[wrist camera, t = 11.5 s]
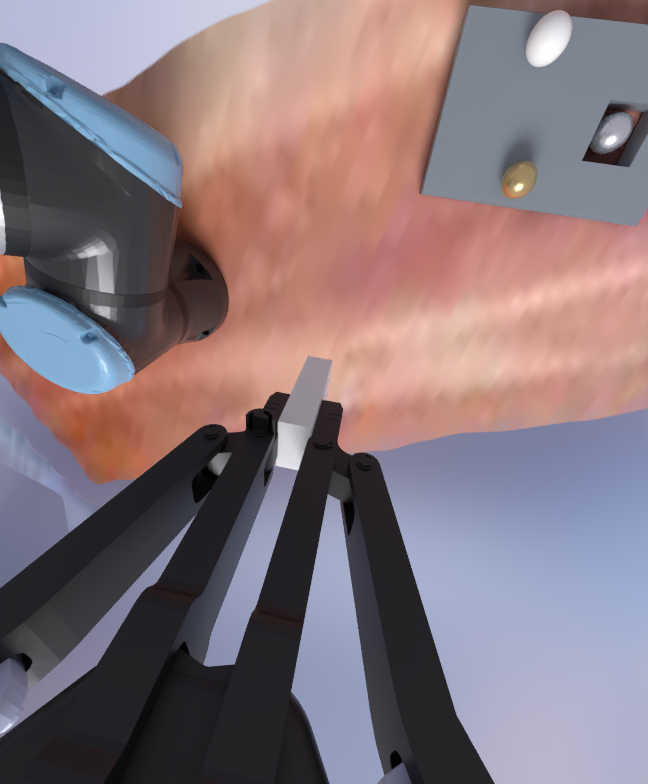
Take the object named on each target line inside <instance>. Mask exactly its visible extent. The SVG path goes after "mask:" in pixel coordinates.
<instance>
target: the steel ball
mask: <svg viewBox="0 0 648 784" xmlns="http://www.w3.org/2000/svg"><path fill="white" fill-rule="evenodd" d="M633 125H634V123H633V118H632V116H631V115H630V114H628V113H626V112H615V113H612V114H610V115H608V116H606V117H605V118H603V119H602V120H601V121H600V123H599V125H598V127H597V129H596V132H595V134H594V136H593V138H592V140H591V142H590V144H589V145H590V148H591V150H592V151H593V152H595V153H598V154H606V153H610V152H612V151H614V150H616V149H618V148H619V147H620V146H622V145H623V144H624V143H625V142H626V140H627V139H628V138H629V136H630V134H631V132H632V130H633Z"/></svg>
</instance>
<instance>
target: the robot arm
mask: <svg viewBox="0 0 648 784" xmlns="http://www.w3.org/2000/svg"><path fill="white" fill-rule="evenodd" d="M182 175H183V162H182V158H181V156H180V153H179V151H178V150H177V148H176V147H175V145H174V144H173V143H172V142H171V141H170V140H169V139H168V138H167V137H165V136H164V135H163V134H161V133H160V132H158V131H157V130H155V129H154V128H152V127H151V126H149V125H148V124H146V123H144V122H143V121H141V120H140V119H138V118H137V117H135V116H133V115H132V114H130V113H128V112H127V111H125V110H123V109H122V108H120V107H118V106H117V105H115V104H113V103H112V102H110V101H108V100H107V99H105V98H103V97H102V96H100V95H98V94H97V93H95V92H93V91H92V90H90V89H88V88H86V87H85V86H83V85H81V84H80V83H78V82H76V81H74V80H73V79H71V78H69V77H67V76H66V75H64V74H62V73H60V72H58V71H57V70H55V69H53V68H52V67H50V66H48V65H46V64H44V63H42V62H40V61H38V60H36V59H34V58H33V57H31V56H28V55H27V54H25V53H23V52H21V51H20V50H18V49H17V48H15V47H12V46H10V45H8V44H5V43H0V254H1V255H10V256H20V257H23V258H24V266H25V275H26V284H25V286H22V285H20V286H14V287H11V288H9V289H8V290H7V292H5V293H4V294H3V295H1V296H0V332H1V334H2V336H3V337H4V339H5V340H6V342H7V343H8V344H9V346H10V347H11V348H12V350H13V351H14V352H15V353H16V354H17V355H18V356H19V357H20V358H21V359H22V360H23V361H25V362H26V363H27V364H28V365H29V366H30V367H31V368H32V369H34V370H35V371H36V372H38V373H39V374H40V375H42V376H43V377H45V378H46V379H48V380H50V381H51V382H53V383H55V384H57V385H59V386H62V387H64V388H66V389H69V390H72V391H75V392H80V393H86V394H99V393H104V392H107V391H110V390H112V389H114V388H115V387H117V386H119V385H121V384H123V383H124V382H128V381H130V380H131V379H132V378H133V376H134V375H135V374H137V373H138V372H139V371H141V370H142V369H144V368H145V367H146V366H148V365H149V364H151V363H152V362H153V361H155V360H156V359H158V358H159V357H160V356H162V355H163V354H164V353H166V352H167V351H169V350H170V349H171V348H173V347H174V346H175V345H177V344H183V343H189V342H196V341H200V340H203V339H205V338H207V337H209V336H210V335H211V334H213V333H214V332H215V331H216V330H218V329H219V328H220V326H221V325H222V324H223V322H224V320H225V318H226V315H227V312H228V292H227V288H226V285H225V282H224V279H223V277H222V275H221V273H220V271H219V270H218V268H217V267H216V265H215V264H214V263H213V261H212V260H211V259H210V258H209V257H208V256H207V255H206V254H205V253H204V252H203V251H201V250H200V249H199V248H197V247H196V246H194V245H192V244H190V243H188V242H186V241H183V240H180V239H176V231H177V224H178V217H179V211H180V208H182V201H181V199H180V198H181V186H182ZM331 366H332V360H327V359H321V358H316V357H310V356H308V358H307V360H306V362H305V364H304V366H303V369H302V371H301V373H300V375H299V377H298V379H297V381H296V384H295V386H294V388H293V390H292V392H291V394H285V393H280V392H276V393H274V394H273V395H271V396H270V397H269V399H268V401H267V403H266V404H265V406H264V408H263V409H260V408H259V409H253V410H251V411H249V412H248V413H247V414H246V430H245V431H243V432H234V433H227V430H226V428H225V427H223V426H221V425H217V424H210V425H206V426H203V427H202V428H200V429H198V430H197V431H196V432H195V433H193V434H192V435H191V436H190V437H189V438H187V439H186V440H185V441H184V442H182V443H181V444H180V445H179V446H177V447H176V448H175V449H174V450H172V451H171V452H170V453H169V454H167V455H166V456H165V457H164V458H162V459H161V460H160V461H159V462H157V463H156V464H155V465H154V466H152V467H151V468H150V469H149V470H147V471H146V472H145V473H144V474H142V475H141V476H140V477H139V478H137V479H136V480H135V481H134V482H133V483H131V484H130V485H129V486H127V487H126V488H125V489H124V490H122V491H121V492H120V493H119V494H118V495H116V496H115V497H114V498H113V499H111V500H110V501H109V502H108V503H106V504H105V505H104V506H103V507H101V508H100V509H99V510H97V511H96V512H95V513H94V514H92V515H91V516H90V517H89V518H87V519H86V520H85V521H84V522H82V523H81V524H80V525H79V526H77V527H76V528H75V529H74V530H72V531H71V532H70V533H69V534H68V535H66V536H65V537H64V538H63V539H61V540H60V541H59V542H58V543H56V544H55V545H54V546H53V547H51V548H50V549H49V550H48V551H46V552H45V553H44V554H43V555H41V556H40V557H39V558H38V559H37V560H35V561H34V562H33V563H31V564H30V565H29V566H28V567H26V568H25V569H24V570H23V571H22V572H20V573H19V574H18V575H16V576H15V577H14V578H13V579H11V580H10V581H9V582H8V583H6V584H5V585H4V586H3V587H2V588H0V733H2V732H5V731H6V730H7V729H9V728H10V727H11V726H12V725H13V724H14V723H15V722H16V720H17V719H18V718H19V717H20V714H21V712H22V710H23V703H24V701H25V699H26V696H27V692H28V690H29V689H30V688H31V687H33V686H34V685H35V684H37V683H38V682H39V681H40V680H41V679H42V678H44V677H45V676H46V675H47V674H48V673H49V672H50V671H51V670H52V669H54V668H55V667H56V666H57V665H58V664H59V663H60V662H61V661H62V660H63V659H64V658H65V657H66V656H67V655H68V654H69V653H70V652H71V651H72V650H73V649H74V648H75V647H76V646H77V645H78V644H79V643H80V642H81V641H82V640H83V638H84V637H85V636H86V635H87V634H88V633H89V632H90V631H91V630H92V628H93V627H94V626H95V625H96V624H97V623H98V622H99V621H100V620H101V618H102V617H103V616H104V615H105V614H106V613H107V612H108V611H109V609H111V608H112V606H113V605H114V604H115V603H116V602H117V601H118V600H119V599H120V598H121V597H122V595H123V594H124V593H125V592H126V591H127V590H128V589H129V587H131V586H132V584H133V583H134V582H135V581H136V580H137V579H138V578H139V577H140V576H141V575H142V573H143V572H144V571H145V570H146V569H147V568H148V567H149V566H150V565H151V563H152V562H153V561H154V560H155V559H156V558H157V557H158V556H159V555H160V554H161V552H162V551H163V550H164V549H165V548H166V547H167V546H168V545H169V544H170V543H171V541H172V540H173V539H174V538H175V537H176V536H177V535H178V534H179V533H180V531H181V530H182V529H183V528H184V527H185V526H186V525H187V524H188V523H189V521H191V519H192V518H193V517H194V516H195V515H196V514H197V515H196V516H195V518H194V520H193V522H192V523H191V525H190V527H189V529H188V530H187V532H186V534H185V535H184V537H183V539H182V541H181V542H180V544H179V546H178V548H177V549H176V551H175V553H174V554H173V556H172V558H171V560H170V561H169V563H168V565H167V566H166V568H165V570H164V572H163V573H162V575H161V577H160V578H159V580H158V582H157V583H156V584H154V585H153V586H150V587H147V588H146V589H145V590H144V591H143V592H142V593H141V595H140V596H139V598H138V599H137V600H136V602H135V604H134V605H133V607H132V609H131V610H130V612H129V614H128V615H127V617H126V619H125V620H124V622H123V623H122V625H121V627H120V629H119V630H118V632H117V634H116V635H115V637H114V638H113V640H112V642H111V644H110V645H109V647H108V648H107V650H106V652H105V653H104V655H103V657H102V658H101V660H100V661H99V663H98V665H97V666H95V667H94V668H93V669H91V670H90V671H88V672H87V673H86V674H84V675H83V676H82V677H81V678H79V679H78V680H77V681H75V682H74V683H73V684H71V685H70V686H69V687H67V688H66V689H65V690H63V691H62V692H61V693H59V694H58V695H57V696H55V697H54V698H53V699H52V700H50V701H49V702H47V703H46V704H45V705H43V706H42V707H41V708H40V709H38V710H37V711H36V712H34V713H33V714H32V715H30V716H29V717H28V718H26V719H25V720H24V721H22V722H21V723H20V724H18V725H17V726H16V727H14V728H13V729H12V730H10V731H9V732H8V733H6V734H5V735H4V736H2V737H1V738H0V784H329V781H328V778H327V775H326V772H325V768H324V765H323V762H322V759H321V756H320V753H319V750H318V747H317V744H316V740H315V737H314V734H313V731H312V728H311V725H310V722H309V720H308V718H307V716H306V713H305V711H304V710H303V708H302V706H301V704H300V703H299V701H298V700H297V698H296V697H295V696H294V695H293V694H292V692H291V688H292V682H293V678H294V672H295V667H296V661H297V656H298V651H299V645H300V640H301V634H302V628H303V624H304V618H305V613H306V606H307V601H308V596H309V591H310V586H311V580H312V574H313V570H314V564H315V558H316V553H317V548H318V542H319V537H320V531H321V526H322V521H323V515H324V510H325V505H326V499H327V494H329V495H331V496H333V497H335V498H337V499H339V500H340V504H341V511H342V518H343V525H344V532H345V539H346V546H347V553H348V560H349V567H350V574H351V581H352V587H353V595H354V602H355V608H356V615H357V622H358V629H359V636H360V643H361V650H362V657H363V664H364V671H365V678H366V685H367V692H368V699H369V706H370V712H371V719H372V724H373V729H374V735H375V740H376V745H377V749H378V753H379V757H380V760H381V764H382V768H383V771H384V775H385V776H384V777H383V778H382V779H381V780H380V781H379V782H378V784H494V782H493V780H492V778H491V776H490V775H489V773H488V771H487V769H486V767H485V766H484V764H483V762H482V760H481V759H480V757H479V755H478V753H477V751H476V749H475V748H474V746H473V744H472V743H471V741H470V739H469V737H468V735H467V733H466V731H465V730H464V728H463V726H462V724H461V723H460V721H459V719H458V717H457V715H456V712H455V709H454V706H453V702H452V699H451V696H450V693H449V689H448V686H447V683H446V679H445V676H444V673H443V670H442V666H441V663H440V660H439V656H438V653H437V650H436V647H435V644H434V640H433V637H432V634H431V630H430V627H429V624H428V621H427V617H426V614H425V611H424V608H423V604H422V601H421V598H420V594H419V591H418V588H417V585H416V581H415V578H414V575H413V572H412V568H411V565H410V562H409V558H408V555H407V552H406V549H405V545H404V542H403V539H402V535H401V532H400V529H399V526H398V522H397V519H396V516H395V512H394V509H393V506H392V503H391V499H390V496H389V493H388V490H387V486H386V483H385V480H384V476H383V473H382V470H381V467H380V464H379V462H378V460H377V459H376V458H375V457H374V456H372V455H370V454H368V453H356V454H354V455H352V456H351V455H349V454H347V453H345V452H344V451H343V450H342V449H341V448H340V447H339V445H338V434H339V429H340V423H341V418H342V412H343V408H342V406H341V404H340V403H336V402H331V401H326V399H327V393H328V386H329V380H330V373H331ZM275 461H276V466H280V467H285V468H290V469H295V470H298V473H297V476H296V480H295V483H294V486H293V490H292V493H291V496H290V499H289V502H288V506H287V509H286V512H285V516H284V519H283V522H282V525H281V528H280V531H279V535H278V538H277V541H276V544H275V548H274V551H273V554H272V558H271V561H270V564H269V567H268V570H267V574H266V577H265V580H264V583H263V586H262V590H261V593H260V596H259V600H258V603H257V605H256V608H255V609H254V611H253V612H252V614H251V617H250V619H249V622H248V625H247V628H246V631H245V634H244V637H243V640H242V644H241V647H240V650H239V653H238V656H237V659H236V662H235V665H224V666H213V667H207V666H204V665H203V663H204V660H205V657H206V654H207V650H208V645H209V640H210V636H211V632H212V629H213V627H214V624H215V622H216V619H217V616H218V614H219V611H220V609H221V606H222V603H223V601H224V598H225V596H226V593H227V590H228V588H229V586H230V583H231V580H232V578H233V575H234V573H235V570H236V568H237V565H238V562H239V560H240V557H241V555H242V552H243V550H244V547H245V545H246V542H247V539H248V537H249V534H250V532H251V529H252V526H253V524H254V521H255V519H256V516H257V514H258V511H259V508H260V506H261V503H262V501H263V498H264V495H265V493H266V491H267V488H268V485H269V483H270V480H271V478H272V475H273V466H274V463H275Z"/></svg>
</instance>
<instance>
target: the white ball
mask: <svg viewBox="0 0 648 784" xmlns="http://www.w3.org/2000/svg"><path fill="white" fill-rule="evenodd" d="M571 33H572V20H571V17H570V15H569V14H568V13H567V12H565V11H563V10H555V11H552V12H550V13H548V14H547V15H545V16H544V17H543V18H541V19H540V20H539V21H538V23H537V24H536V25H535V27H534V28H533V30H532V31H531V33H530V35H529V38H528V41H527V44H526V57H527V60H528V62H529V63H530V64H531V65H532V66H535V67H543V66H546V65H548V64H550V63H552V62H553V61H554V60H556V59H557V58H558V57H559V56H560V55H561V53H562V52H563V51H564V49H565V48H566V46H567V44H568V42H569V40H570V37H571Z"/></svg>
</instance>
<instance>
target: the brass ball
mask: <svg viewBox="0 0 648 784" xmlns="http://www.w3.org/2000/svg"><path fill="white" fill-rule="evenodd" d="M537 177H538V172H537V168H536V166H535V165H534V164H533V163H532V162H529V161H519V162H517V163H515V164H513V165H512V166H510V167H509V168H508V169H507V170H506V172H505V173H504V175H503V177H502V180H501V191H502V193H503V194H504V195H505V196H506V197H507V198H510V199H517V198H520V197H523V196H524V195H526V194H527V193H529V192H530V191H531V189H532V188H533V187H534V185H535V183H536V181H537Z"/></svg>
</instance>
